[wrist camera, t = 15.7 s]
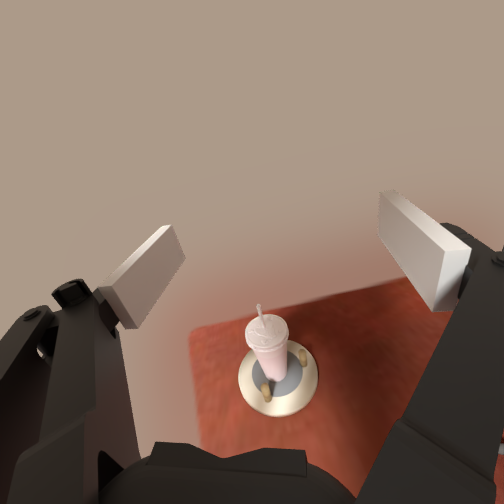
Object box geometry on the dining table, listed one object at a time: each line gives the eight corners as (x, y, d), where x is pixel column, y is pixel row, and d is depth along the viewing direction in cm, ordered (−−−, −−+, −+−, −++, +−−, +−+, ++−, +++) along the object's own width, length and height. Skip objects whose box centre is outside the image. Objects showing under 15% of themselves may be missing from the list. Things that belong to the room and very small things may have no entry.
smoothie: (278, 347, 43) (265, 286, 37) (304, 372, 38) (294, 306, 32) (249, 369, 41) (229, 308, 34) (273, 399, 36) (255, 333, 29)
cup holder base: (323, 349, 42) (322, 334, 40) (309, 430, 32) (307, 414, 30) (256, 337, 48) (252, 322, 46) (226, 402, 38) (219, 387, 36)
